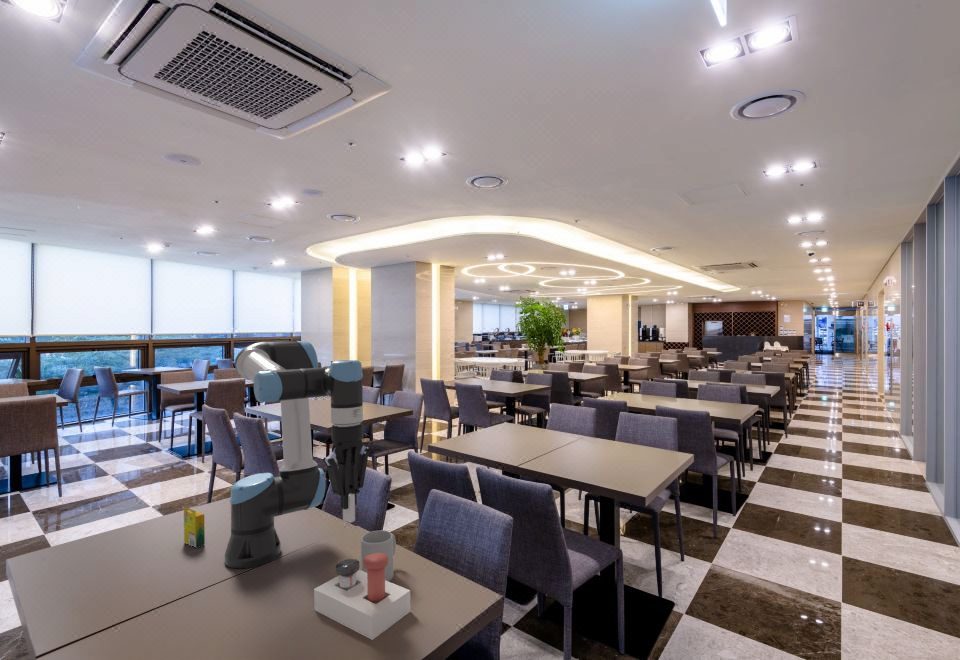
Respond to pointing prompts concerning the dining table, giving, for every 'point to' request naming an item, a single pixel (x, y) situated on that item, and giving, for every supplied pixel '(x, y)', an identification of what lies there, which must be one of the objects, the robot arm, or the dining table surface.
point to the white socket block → (362, 605)
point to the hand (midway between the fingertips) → (349, 520)
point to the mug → (379, 549)
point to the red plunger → (376, 576)
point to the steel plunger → (347, 573)
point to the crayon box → (194, 528)
